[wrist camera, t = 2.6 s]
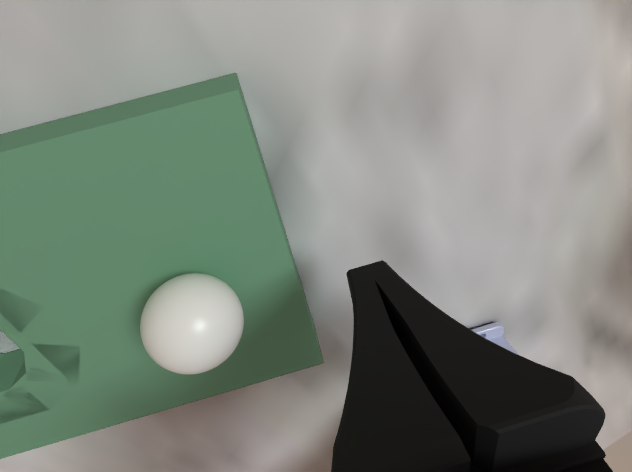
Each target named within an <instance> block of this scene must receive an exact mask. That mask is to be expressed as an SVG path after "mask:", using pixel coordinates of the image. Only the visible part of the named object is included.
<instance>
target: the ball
mask: <svg viewBox="0 0 632 472" xmlns="http://www.w3.org/2000/svg"><path fill="white" fill-rule="evenodd" d="M243 327H244V315H243V309H242V306H241V303H240V300H239V298H238V297H237V295H236V293H235V292H234V291H233V289H232V288H231V287H230V286H229V285H227V284H226V283H225V282H223V281H222V280H220V279H218V278H216V277H214V276H211V275H208V274H202V273H189V274H184V275H180V276H177V277H174V278H172V279H170V280H168V281H167V282H165V283H163V284H162V285H161V286H160V287H158V288H157V289H156V290H155V292H154V293H153V294H152V295H151V296H150V298H149V299H148V301H147V303H146V304H145V307H144V309H143V312H142V316H141V321H140V333H141V338H142V342H143V345H144V347H145V349H146V351H147V353H148V354H149V356H150V357H151V358H152V359H153V360H154V361H155V362H156V363H157V364H158V365H160V366H161V367H163V368H164V369H167V370H169V371H171V372H174V373H178V374H199V373H203V372H206V371H209V370H211V369H213V368H215V367H217V366H218V365H220V364H221V363H223V362H224V361H225V360H226V359H227V358H228V357H229V356H230V355H231V354H232V353H233V351H234V350H235V348H236V347H237V345H238V343H239V341H240V338H241V336H242V331H243Z"/></svg>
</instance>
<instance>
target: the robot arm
mask: <svg viewBox="0 0 632 472" xmlns="http://www.w3.org/2000/svg"><path fill="white" fill-rule="evenodd" d="M347 278H348V283H349V288H350V293H351V298H352V303H353V312H354V337H353V352H352V362H351V370H350V377H349V384H348V389H347V394H346V399H345V404H344V409H343V413H342V418H341V422H340V425H339V429H338V433H337V436H336V440H335V443H334V447H333V459H332V469H331V472H613V471H612V470H611V468H610V467H609V466H608V464H607V463H606V462H605V461H604V459H603V458H605V456H606V455H605V453H604V451H603V450H602V448H601V447H600V446H599V445H598V443H597V442H596V441H595V439H596V437H597V435H598V433H599V431H600V429H601V427H602V425H603V423H604V419H605V412H604V409H603V408H602V407H601V406H600V405H599V404H598V402H597V401H596V400H595V399H594V398H593V397H592V395H591V394H590V393H589V392H588V391H587V390H586V389H585V388H584V387H582V386H581V385H580V384H579V383H578V382H577V381H576V380H575V379H574V378H573V377H571V376H569V375H566V374H564V373H561V372H558V371H556V370H553V369H551V368H548V367H545V366H543V365H540V364H537V363H535V362H533V361H531V360H528V359H526V358H524V357H522V356H519V355H518V354H517V353H516V352H515V350H514V349H513V348H512V346H511V345H510V344H509V342H508V341H507V340H506V338H505V337H504V336H503V333H504V327H503V326H502V324H501V323H498V322H496V323H492V324H488V325H485V326H482V327H478V328H475V329H471V330H470V329H468V328H467V327H465V326H464V325H462V324H460V323H459V322H457V321H456V320H454V319H453V318H451V317H450V316H448V315H447V314H445V313H444V312H443V311H441V310H440V309H439V308H437V307H436V306H434V305H433V304H432V303H431V302H429V301H428V300H427V299H425V298H424V297H423V296H422V295H421V294H419V293H418V292H417V291H416V290H414V289H413V288H412V287H411V286H410V285H409V284H408V283H406V282H405V281H404V280H403V279H402V278H401V277H400V276H399V275H398V274H397V273H396V272H395V271H394V270H393V269H392V268H391V267H390V266H389V265H388V264H387V263H386V262H384V261H379V262H375V263H372V264H368V265H365V266H361V267H358V268H354V269H351V270H349V271H348V272H347Z"/></svg>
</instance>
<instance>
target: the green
mask: <svg viewBox="0 0 632 472" xmlns="http://www.w3.org/2000/svg"><path fill="white" fill-rule="evenodd" d="M189 273H202V274H208V275H211V276H214V277H216V278H218V279H220V280H222V281H223V282H225V283H226V284H227V285H229V286H230V287H231V288H232V289H233V291H234V292H235V293H236V295H237V297H238V298H239V300H240V303H241V306H242V309H243V315H244V327H243V331H242V336H241V338H240V341H239V343H238V345H237V347H236V348H235V350H234V351H233V353H232V354H231V355H230V356H229V357H228V358H227V359H226V360H225V361H224V362H223V363H221V364H220V365H218V366H217V367H215V368H213V369H211V370H209V371H206V372H203V373H199V374H178V373H174V372H171V371H169V370H167V369H164V368H163V367H161V366H160V365H158V364H157V363H156V362H155V361H154V360H153V359H152V358H151V357H150V356H149V354H148V353H147V351H146V349H145V347H144V345H143V342H142V338H141V333H140V321H141V316H142V312H143V309H144V307H145V304H146V303H147V301H148V299H149V298H150V296H151V295H152V294H153V293H154V292H155V290H156V289H157V288H158V287H160V286H161V285H162V284H163V283H165V282H167V281H168V280H170V279H172V278H174V277H177V276H180V275H184V274H189ZM0 331H2V332H3V333H4V334H5V335H6V336H7V337H9V338H10V339H11V340H12V341H13V342H14V343H15V344H16V345H17V346H18V347H19V348H20V349H19V350H15V351H12V352H8V353H5V354H3V353H0V459H2V458H5V457H8V456H12V455H15V454H18V453H22V452H25V451H29V450H32V449H35V448H39V447H42V446H45V445H49V444H52V443H56V442H59V441H62V440H66V439H69V438H72V437H76V436H79V435H83V434H86V433H89V432H93V431H96V430H99V429H103V428H106V427H110V426H113V425H116V424H120V423H123V422H126V421H130V420H133V419H137V418H140V417H143V416H147V415H150V414H153V413H157V412H160V411H164V410H167V409H170V408H174V407H177V406H180V405H184V404H187V403H191V402H194V401H197V400H201V399H204V398H207V397H211V396H214V395H218V394H221V393H224V392H228V391H231V390H234V389H238V388H241V387H245V386H248V385H251V384H255V383H258V382H261V381H265V380H268V379H272V378H275V377H278V376H282V375H285V374H288V373H292V372H295V371H299V370H302V369H305V368H309V367H312V366H315V365H319V364H322V363H324V362H323V358H322V354H321V350H320V346H319V342H318V338H317V334H316V330H315V326H314V323H313V320H312V317H311V313H310V310H309V307H308V304H307V300H306V297H305V294H304V291H303V287H302V284H301V281H300V278H299V274H298V271H297V268H296V265H295V262H294V258H293V255H292V252H291V249H290V245H289V242H288V239H287V236H286V232H285V229H284V226H283V223H282V219H281V216H280V213H279V210H278V206H277V203H276V200H275V197H274V193H273V190H272V187H271V184H270V181H269V177H268V174H267V171H266V168H265V164H264V161H263V158H262V155H261V151H260V148H259V145H258V142H257V138H256V135H255V132H254V129H253V125H252V122H251V119H250V116H249V113H248V109H247V106H246V103H245V100H244V96H243V93H242V90H241V87H240V83H239V80H238V77H237V74H236V73H233V74H229V75H226V76H222V77H218V78H214V79H210V80H207V81H203V82H199V83H195V84H191V85H188V86H184V87H180V88H176V89H172V90H168V91H165V92H161V93H157V94H153V95H149V96H146V97H142V98H138V99H134V100H130V101H126V102H123V103H119V104H115V105H111V106H107V107H104V108H100V109H96V110H92V111H88V112H85V113H81V114H77V115H73V116H69V117H65V118H62V119H58V120H54V121H50V122H46V123H43V124H39V125H35V126H31V127H27V128H23V129H20V130H16V131H12V132H8V133H4V134H1V135H0Z"/></svg>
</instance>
